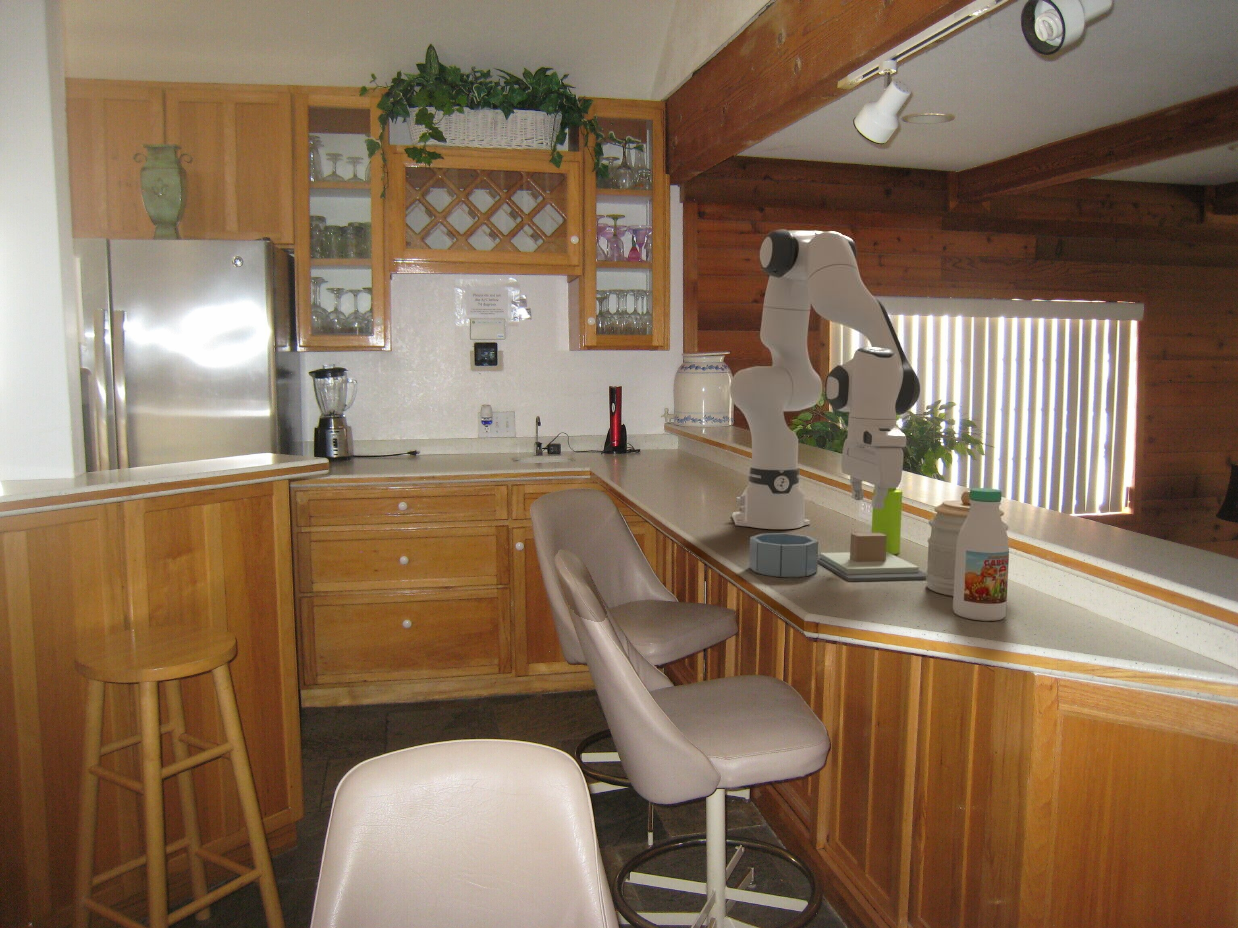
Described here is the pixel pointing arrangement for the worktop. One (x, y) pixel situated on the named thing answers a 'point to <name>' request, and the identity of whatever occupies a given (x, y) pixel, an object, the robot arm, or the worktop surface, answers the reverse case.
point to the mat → (873, 577)
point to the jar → (946, 543)
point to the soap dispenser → (889, 519)
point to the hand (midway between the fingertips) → (867, 504)
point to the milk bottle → (982, 560)
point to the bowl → (783, 555)
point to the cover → (868, 557)
